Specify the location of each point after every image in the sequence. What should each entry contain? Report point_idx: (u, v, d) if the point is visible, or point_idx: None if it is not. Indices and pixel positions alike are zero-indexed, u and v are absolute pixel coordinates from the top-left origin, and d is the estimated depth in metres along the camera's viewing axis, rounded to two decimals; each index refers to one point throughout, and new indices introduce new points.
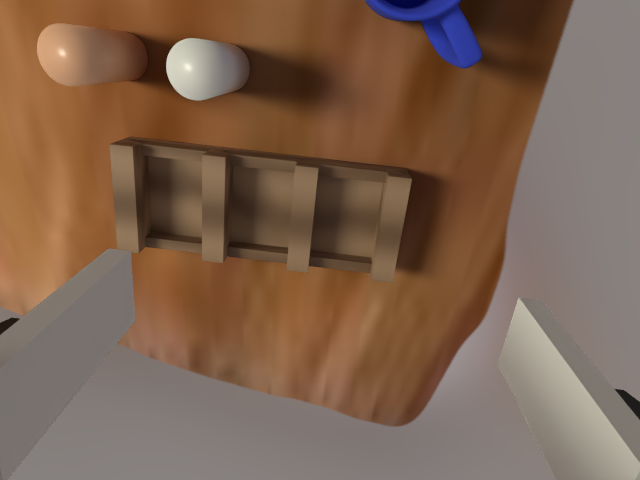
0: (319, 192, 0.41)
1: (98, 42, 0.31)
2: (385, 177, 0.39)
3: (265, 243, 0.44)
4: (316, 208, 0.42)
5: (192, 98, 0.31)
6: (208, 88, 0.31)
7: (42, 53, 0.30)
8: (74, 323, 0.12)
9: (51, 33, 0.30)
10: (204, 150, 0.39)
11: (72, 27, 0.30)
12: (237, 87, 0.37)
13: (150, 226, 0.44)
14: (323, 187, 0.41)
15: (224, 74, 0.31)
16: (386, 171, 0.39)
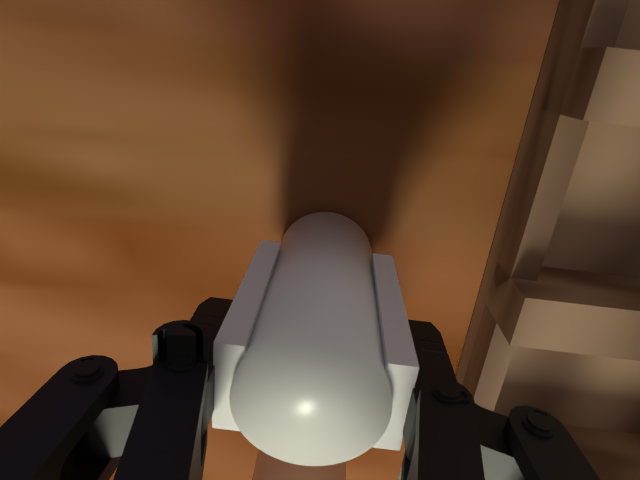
0: None
1: None
2: None
3: None
4: None
5: (385, 421, 0.11)
6: (359, 381, 0.10)
7: None
8: None
9: None
10: (492, 325, 0.18)
11: None
12: (363, 249, 0.16)
13: (630, 434, 0.21)
14: (637, 39, 0.15)
15: (322, 332, 0.10)
16: None
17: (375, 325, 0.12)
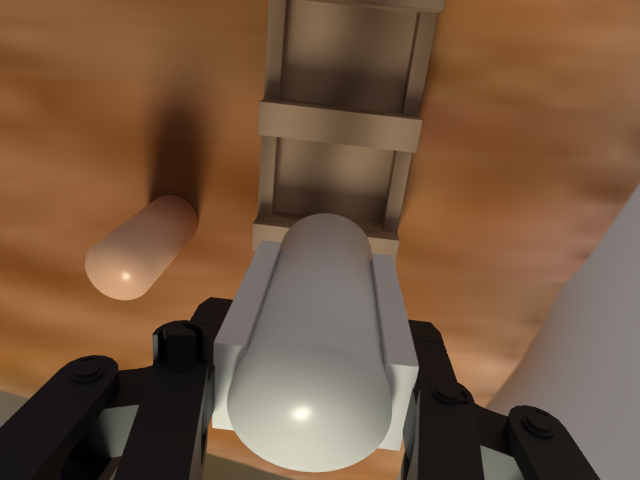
0: None
1: (109, 234, 0.27)
2: None
3: (406, 56, 0.28)
4: None
5: (385, 427, 0.11)
6: (359, 385, 0.10)
7: (121, 294, 0.27)
8: None
9: (98, 280, 0.27)
10: (262, 135, 0.29)
11: (87, 257, 0.26)
12: (363, 251, 0.16)
13: (373, 223, 0.33)
14: None
15: (321, 337, 0.10)
16: None
17: (375, 329, 0.12)
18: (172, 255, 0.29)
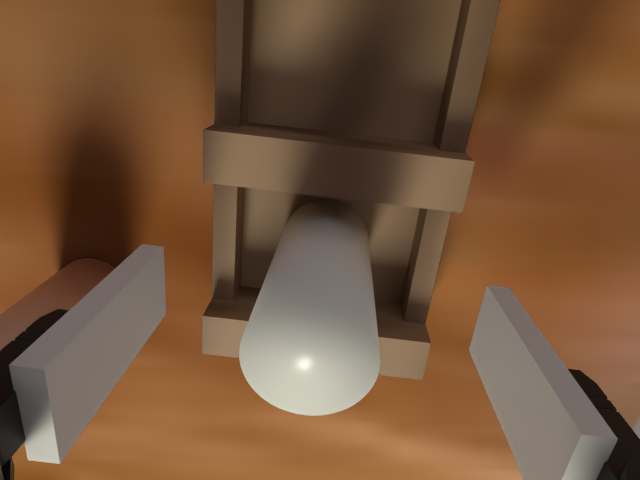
0: None
1: None
2: None
3: (445, 55, 0.18)
4: None
5: (374, 374, 0.13)
6: (351, 338, 0.12)
7: None
8: (118, 313, 0.12)
9: None
10: None
11: None
12: (359, 232, 0.18)
13: (388, 304, 0.22)
14: None
15: (319, 295, 0.12)
16: None
17: (367, 294, 0.14)
18: None
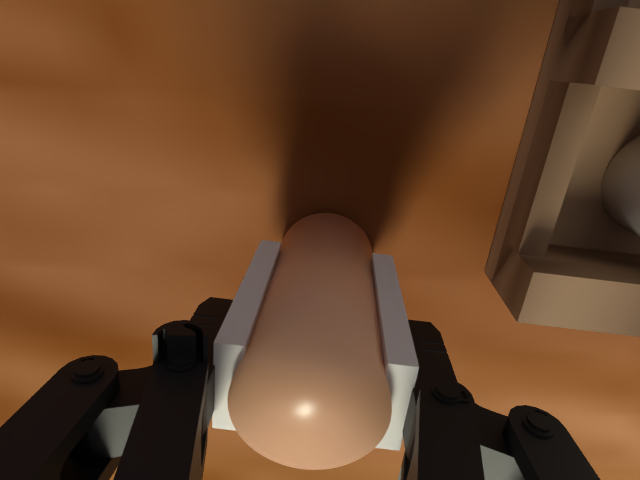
0: None
1: (278, 316, 0.11)
2: None
3: None
4: None
5: None
6: None
7: (304, 459, 0.11)
8: None
9: (254, 429, 0.11)
10: (562, 93, 0.14)
11: (235, 378, 0.11)
12: None
13: None
14: None
15: None
16: None
17: None
18: None
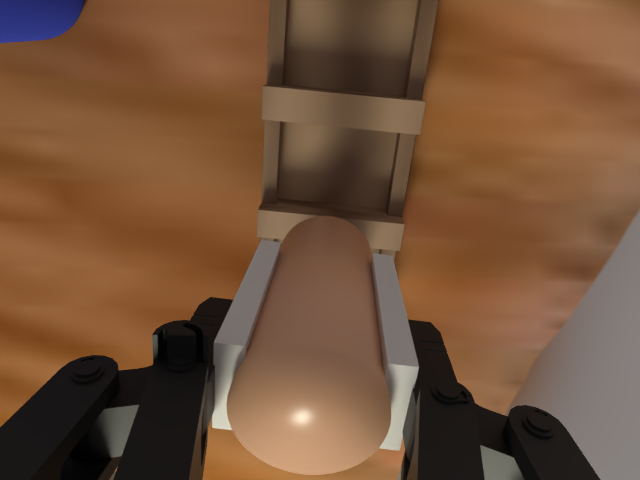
0: (314, 84, 0.30)
1: (277, 320, 0.11)
2: None
3: (389, 162, 0.31)
4: (338, 88, 0.30)
5: None
6: None
7: (303, 464, 0.11)
8: None
9: (253, 434, 0.11)
10: None
11: (234, 383, 0.11)
12: None
13: None
14: (307, 78, 0.29)
15: None
16: None
17: None
18: None
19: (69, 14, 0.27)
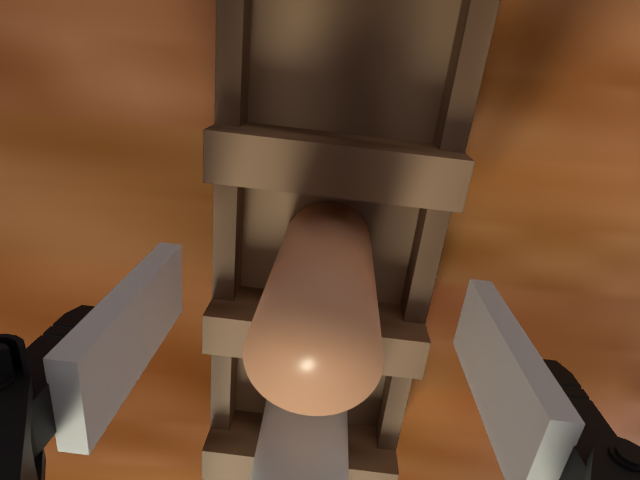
0: (293, 122, 0.19)
1: (286, 282, 0.13)
2: None
3: (408, 240, 0.21)
4: (330, 129, 0.19)
5: None
6: None
7: (308, 406, 0.13)
8: (141, 309, 0.13)
9: (266, 379, 0.13)
10: None
11: (250, 333, 0.12)
12: None
13: (365, 426, 0.25)
14: (282, 112, 0.19)
15: None
16: None
17: (340, 475, 0.17)
18: None
19: None
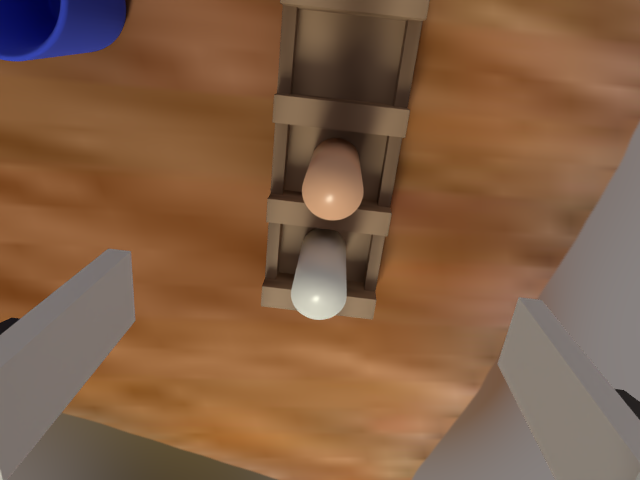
0: (317, 93, 0.35)
1: (320, 159, 0.29)
2: (289, 6, 0.31)
3: (380, 160, 0.37)
4: (337, 97, 0.35)
5: (345, 299, 0.32)
6: (334, 284, 0.31)
7: (330, 215, 0.29)
8: (74, 322, 0.12)
9: (311, 201, 0.29)
10: None
11: (305, 178, 0.28)
12: (339, 243, 0.37)
13: (357, 282, 0.41)
14: (311, 88, 0.35)
15: (321, 268, 0.31)
16: None
17: (341, 269, 0.33)
18: None
19: (114, 32, 0.33)
